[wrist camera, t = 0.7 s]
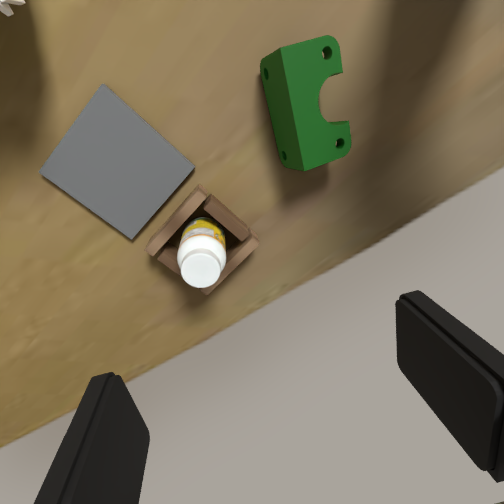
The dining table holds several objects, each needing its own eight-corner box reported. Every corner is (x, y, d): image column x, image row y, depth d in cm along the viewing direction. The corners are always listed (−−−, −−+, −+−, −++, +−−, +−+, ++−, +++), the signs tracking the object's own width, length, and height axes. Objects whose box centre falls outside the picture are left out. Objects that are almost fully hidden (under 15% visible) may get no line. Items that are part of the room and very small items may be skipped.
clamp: (307, 135, 40) (350, 167, 34) (266, 149, 39) (304, 185, 33) (310, 23, 31) (369, 42, 26) (257, 37, 30) (306, 60, 24)
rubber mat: (104, 84, 32) (101, 83, 31) (195, 166, 36) (194, 167, 35) (42, 170, 35) (38, 171, 34) (133, 237, 39) (131, 239, 38)
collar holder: (199, 183, 37) (198, 190, 34) (256, 233, 40) (259, 243, 37) (150, 239, 39) (144, 250, 36) (207, 282, 43) (207, 295, 39)
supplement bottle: (183, 214, 38) (173, 244, 30) (226, 217, 39) (229, 248, 30) (182, 253, 41) (173, 292, 32) (223, 256, 41) (225, 294, 33)
